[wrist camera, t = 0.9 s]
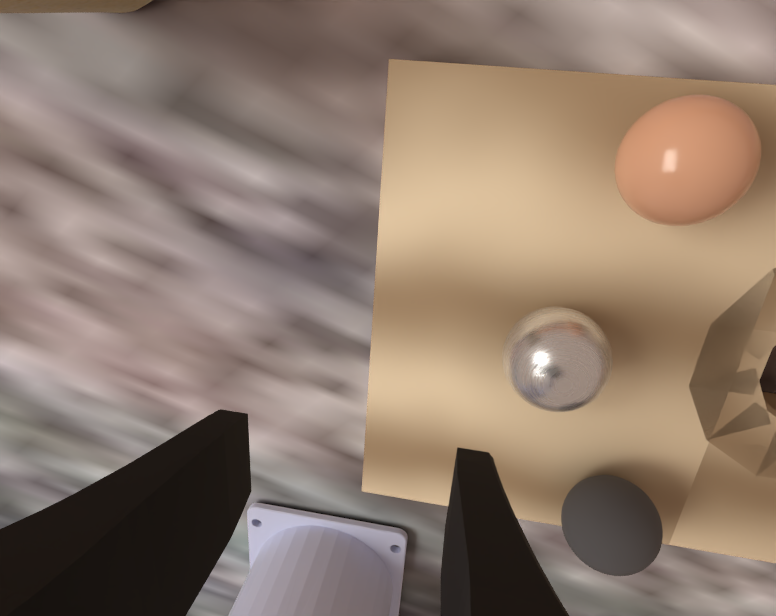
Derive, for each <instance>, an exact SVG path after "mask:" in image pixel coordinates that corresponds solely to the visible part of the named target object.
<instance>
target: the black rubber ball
mask: <svg viewBox="0 0 776 616" xmlns="http://www.w3.org/2000/svg"><path fill="white" fill-rule="evenodd" d="M561 523H562V529H563V533H564V536H565V538H566V540H567V543H568V544H569V546H570V548H571V549H572V551H573V552H574V553H575V554H576V556H577V557H578V558H579V559H580V560H581V561H583V562H584V563H585V564H587V565H588V566H589V567H591V568H593V569H594V570H597V571H599V572H601V573H604V574H608V575H614V576H627V575H632V574H635V573H638V572H640V571H642V570H644V569H645V568H647V567H648V566H649V565H650V564H651V563H652V562H653V561H654V559H655V558H656V556H657V555H658V553H659V551H660V548H661V544H662V538H663V529H662V522H661V518H660V515H659V513H658V511H657V508H656V507H655V505H654V503H653V502H652V500H651V499H650V498H649V496H648V495H647V494H646V493H645V492H644V491H643V490H642V489H640V488H639V487H638V486H636V485H635V484H633V483H632V482H630V481H628V480H626V479H623V478H620V477H617V476H613V475H596V476H591V477H588V478H586V479H583V480H582V481H580V482H578V483H577V484H576V485H575V486H574V487H573V488H572V489H571V490H570V491H569V493H568V494H567V496H566V498H565V500H564V503H563V506H562V511H561Z"/></svg>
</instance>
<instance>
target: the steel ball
mask: <svg viewBox="0 0 776 616" xmlns="http://www.w3.org/2000/svg"><path fill="white" fill-rule="evenodd" d="M502 365H503V370H504V373H505V376H506V379H507V381H508V382H509V384H510V386H511V388H512V389H513V390H514V392H515V393H516V394H517V395H518V396H519V397H520V398H521V399H523V400H524V401H525V402H527V403H529V404H530V405H532V406H534V407H536V408H538V409H541V410H545V411H550V412H568V411H573V410H577V409H579V408H582V407H584V406H586V405H588V404H589V403H591V402H592V401H594V400H595V399H596V398H597V397H598V396H599V395H600V394H601V393H602V391H603V390H604V389H605V387H606V385H607V384H608V382H609V379H610V376H611V372H612V367H613V356H612V350H611V346H610V343H609V341H608V338H607V336H606V335H605V333H604V332H603V330H602V329H601V328H600V326H599V325H598V324H597V323H596V322H595V321H593V320H592V319H591V318H590V317H588V316H587V315H585V314H583V313H581V312H579V311H577V310H573V309H570V308H565V307H546V308H541V309H538V310H535V311H533V312H530V313H529V314H527V315H525V316H524V317H522V318H521V319H520V320H519V321H518V322H517V323H516V324H515V325H514V326H513V327H512V329H511V330H510V332H509V333H508V335H507V337H506V340H505V342H504V346H503V352H502Z"/></svg>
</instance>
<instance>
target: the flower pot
mask: <svg viewBox="0 0 776 616" xmlns="http://www.w3.org/2000/svg"><path fill="white" fill-rule="evenodd" d="M151 1H152V0H0V13H63V12H110V13H125V12H132V11H135V10H137V9H139V8H141V7H143V6H145V5H146V4H148V3H149V2H151Z"/></svg>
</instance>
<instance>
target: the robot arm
mask: <svg viewBox="0 0 776 616" xmlns="http://www.w3.org/2000/svg"><path fill="white" fill-rule="evenodd" d="M250 493H251V475H250V454H249V433H248V414H245V413H239V412H233V411H227V410H218V411H216V412H214V413H213V414H211V415H209V416H207V417H206V418H204V419H202V420H201V421H199V422H197V423H196V424H194V425H192V426H191V427H189V428H187V429H186V430H184V431H183V432H181V433H179V434H178V435H176V436H174V437H173V438H171V439H170V440H168V441H166V442H165V443H163V444H161V445H160V446H158V447H156V448H155V449H153V450H151V451H150V452H148V453H146V454H145V455H143V456H141V457H140V458H138V459H136V460H135V461H133V462H131V463H129V464H128V465H126V466H124V467H122V468H121V469H119V470H117V471H115V472H113V473H111V474H110V475H108V476H106V477H104V478H102V479H100V480H99V481H97V482H95V483H93V484H91V485H90V486H88V487H86V488H84V489H82V490H80V491H79V492H77V493H75V494H73V495H71V496H69V497H67V498H65V499H63V500H61V501H59V502H57V503H55V504H53V505H51V506H49V507H47V508H45V509H43V510H41V511H39V512H37V513H35V514H33V515H30V516H28V517H26V518H24V519H22V520H20V521H17V522H15V523H13V524H11V525H9V526H7V527H4V528H2V529H0V616H186V614H187V612H188V610H189V609H190V607H191V605H192V604H193V602H194V600H195V599H196V597H197V595H198V594H199V592H200V590H201V588H202V587H203V585H204V583H205V582H206V580H207V578H208V577H209V575H210V573H211V571H212V570H213V568H214V566H215V565H216V563H217V561H218V559H219V558H220V556H221V554H222V553H223V551H224V549H225V547H226V546H227V544H228V542H229V540H230V538H231V537H232V534H233V532H234V530H235V528H236V526H237V523H238V521H239V519H240V517H241V514H242V512H243V510H244V507H245V505H246V502H247V500H248V498H249V495H250ZM247 520H248V539H249V558H250V572H249V574H248V576H247V578H246V580H245V582H244V584H243V586H242V588H241V590H240V592H239V595H238V597H237V599H236V601H235V603H234V605H233V607H232V609H231V611H230V613H229V615H228V616H399V608H400V599H401V591H402V582H403V573H404V564H405V556H406V547H407V538H408V537H407V534H406V532H405V531H404V530H402V529H400V528H396V527H390V526H385V525H379V524H374V523H368V522H363V521H357V520H352V519H346V518H341V517H335V516H330V515H324V514H319V513H313V512H308V511H302V510H297V509H291V508H286V507H280V506H274V505H269V504H263V503H253V504H251V506H250V507H249V509H248V511H247ZM258 520H259V521H258ZM394 545H397V546H399V547H396V546H394ZM441 616H569V615H568V613H567V611H566V610H565V608H564V607H563V605H562V603H561V602H560V600H559V598H558V596H557V595H556V593H555V591H554V590H553V588H552V586H551V584H550V582H549V581H548V579H547V577H546V575H545V573H544V572H543V570H542V568H541V566H540V564H539V563H538V561H537V559H536V557H535V555H534V553H533V551H532V549H531V547H530V545H529V543H528V541H527V539H526V537H525V535H524V533H523V531H522V529H521V527H520V525H519V522H518V520H517V518H516V516H515V514H514V512H513V509H512V507H511V505H510V502H509V500H508V498H507V495H506V493H505V490H504V488H503V485H502V483H501V480H500V477H499V475H498V472H497V469H496V466H495V462H494V459H493V457H492V456H491V455H490V453H489V452H484V451H477V450H471V449H465V448H458V447H457V453H456V459H455V466H454V472H453V479H452V486H451V492H450V499H449V505H448V512H447V518H446V525H445V535H444V546H443V557H442V568H441Z"/></svg>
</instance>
